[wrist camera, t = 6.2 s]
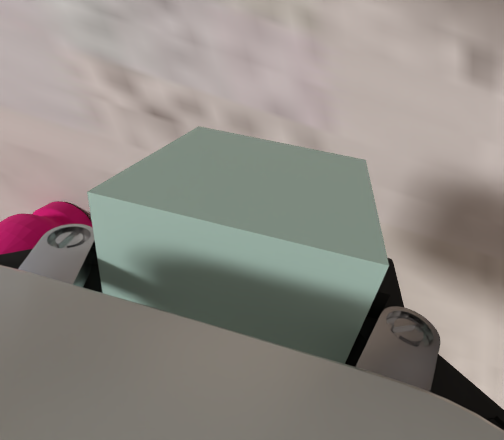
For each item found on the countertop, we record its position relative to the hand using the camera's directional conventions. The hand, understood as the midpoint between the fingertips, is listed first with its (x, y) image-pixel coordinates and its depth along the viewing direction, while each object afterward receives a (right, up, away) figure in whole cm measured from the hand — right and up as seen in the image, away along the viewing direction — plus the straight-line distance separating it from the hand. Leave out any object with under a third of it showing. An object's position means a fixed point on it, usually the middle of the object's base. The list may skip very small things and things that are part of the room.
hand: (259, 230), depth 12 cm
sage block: (0, +1, +1) cm, 1 cm away
